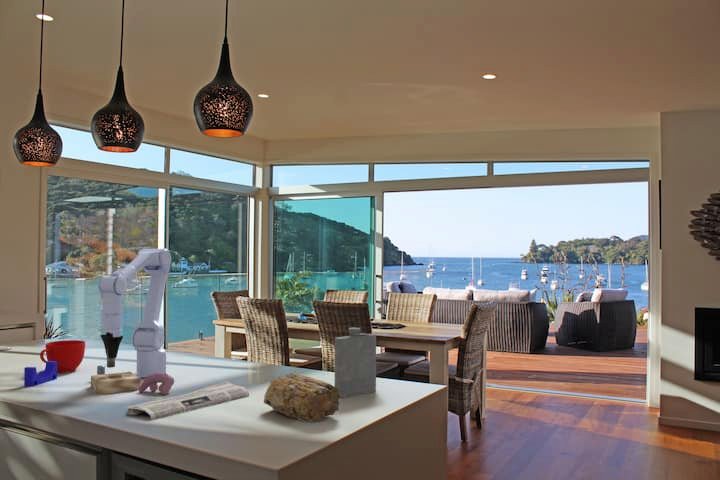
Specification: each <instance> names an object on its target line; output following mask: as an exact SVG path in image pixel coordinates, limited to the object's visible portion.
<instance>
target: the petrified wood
mask: <svg viewBox="0 0 720 480" xmlns="http://www.w3.org/2000/svg"><path fill="white" fill-rule="evenodd" d="M339 397H340V395H339V391H338V389H337V388H336V387H335V385H332V384H331V383H328V382H326V381H323V380H320V379H316V378H314V377H310V376H307V375H304V374H300V373H299V374H298V373H290V374H287V375H285V376H278V377H277V378H275V379H273V380H271V381H270V384H269V385H268V387H267V388H266V391H265V393H264V397H263V403H264V405H267V406H269V407H270V408H272V410H275V411H277V412H278V413H279V414H282V415H285V414H286V415H285V416H288V417H289V418H294V417H295V419H297V418H298V419H297V420H300V421H309V420H311V421H310V422H317V421H318V422H319V421H321V420H322V421H323V420H325V419H326V417H330V416H333V415H335V413H337V412H338V411H339V405H340V401H339ZM291 416H292V417H291Z"/></svg>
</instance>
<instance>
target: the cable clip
mask: <svg viewBox="0 0 720 480" xmlns="http://www.w3.org/2000/svg"><path fill="white" fill-rule="evenodd" d="M44 367H45V368H44V370H40V371H39V372H38V371H37V366H26V367H24V368H23V370H24V374H23V375H24V377H23V378H24V380H23V386H24V387H30V386H32V387H36V386H38V385H43V384H46V383H49V382H51V381H55V380H57V379H58V372H57V361H48V362H46V363H45V366H44ZM32 387H31V388H32Z"/></svg>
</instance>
